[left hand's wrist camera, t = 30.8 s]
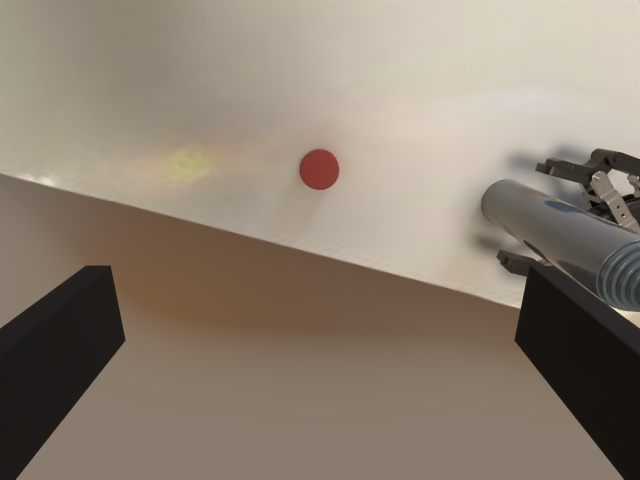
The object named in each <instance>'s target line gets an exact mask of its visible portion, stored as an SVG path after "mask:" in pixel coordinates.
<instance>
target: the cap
mask: <svg viewBox="0 0 640 480" xmlns="http://www.w3.org/2000/svg"><path fill="white" fill-rule="evenodd" d="M300 171H301V177H302V179H303V181H304V182H305V183H306V184H307V185H308V186H309V187H311V188H313V189H317V190H322V189H326V188H329V187H330V186H332V185H333V184H334V183H335V181H336V180H337V178H338V175H339V166H338V162H337V160H336V158H335V157H334V155H333V154H332V153H330V152H329V151H326V150H323V149H317V150H313V151H311V152H309V153H308V154H307V155H306V156H305V157H304V159H303V161H302V164H301V169H300Z"/></svg>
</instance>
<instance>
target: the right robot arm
mask: <svg viewBox="0 0 640 480" xmlns="http://www.w3.org/2000/svg"><path fill="white" fill-rule="evenodd" d="M611 169H615V170H618V171H621V172H624V173H626V174H629V175H628V177H627V179H628V180H629V183H630V184H631V185H632V186H634V189H635V191H634V194H628V195H625V196H621V195H620V193H619V192H617V191H616V190H615V189H614V188H613V186H612V184H611V182H610V180H609V179H608V177H607V173H608V172H609V171H610V170H611ZM535 170H536V171H539V172H542V173H545V174H548V175H552V176H555V177H559V178H563V179H566V180H570V181H574V182H577V183H579V185H580V187H581V188H582V190H583V192H582V195H583V197H584V198H585V200H586V202H587V203H588V205H589V207H590V209H589V210H588V212H590V213H593V214H595V215H597V216H600V217H602V218H604V219H607V220H609V221H612V222H614V223H616V224H619V225H621V226H623V227H626V228H628V229H630V230H633V231H635V232H638V233H640V159H638V158H635V157H632V156H629V155H627V154H624V153H621V152H616V151H611V150H605V149H596V150H594V151H593V152H592V154H591V159H590V160H589V161H588V162H587V163H586V164H584V165H577V164H574V163H570V162H566V161H563V160H559V159H555V158H551V159H547V161H546V163H545V164H541V163H538V164H537V167H536V169H535ZM496 257H497V258H498V259H499V260H500V261H501V263H500V264H501V265H502V266H503V267H504V268H506V269H507V270H508V271H509V272H511V273H514V274H518V275H522V276H526V277H527V275H528V270H529V266H553V265H551V264H550V263H549V262H547V261H546V260H544V259H542V260H539V261H536V260H535V259H533V258H530V257H526V256H522V255H518V254H514V253H510V252H506V251H502V250H499V252H498V254H497V256H496Z"/></svg>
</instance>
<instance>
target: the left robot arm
mask: <svg viewBox="0 0 640 480" xmlns="http://www.w3.org/2000/svg"><path fill="white" fill-rule="evenodd" d="M124 342H125V336H124V331H123V326H122V321H121V315H120V310H119V305H118V300H117V296H116V291H115V285H114V280H113V275H112V271H111V266H85V267H84V268H82V269H81V270H80V271H78V272H77V273H75V274H74V275H73V276H71V277H70V278H69V279H67V280H66V281H64V282H63V283H62V284H60V285H59V286H58V287H56V288H55V289H54V290H52V291H51V292H49V293H48V294H47V295H45V296H44V297H43V298H41V299H40V300H39V301H37V302H36V303H35V304H33V305H32V306H30V307H29V308H28V309H26V310H25V311H24V312H22V313H21V314H19V315H18V316H17V317H15V318H14V319H13V320H11V321H10V322H9V323H7V324H6V325H4V326H3V327H2V328H0V480H16V479H17V477H18V476H19V475H20V473H21V472H22V471H23V470H24V468H25V467H26V466H27V465H28V463H29V462H30V461H31V460H32V458H33V457H34V456H35V454H36V453H37V452H38V451H39V449H40V448H41V447H42V446H43V444H44V443H45V442H46V441H47V439H48V438H49V437H50V435H51V434H52V433H53V432H54V430H55V429H56V428H57V427H58V425H59V424H60V423H61V421H62V420H63V419H64V418H65V416H66V415H67V414H68V413H69V411H70V410H71V409H72V408H73V406H74V405H75V404H76V402H77V401H78V400H79V399H80V397H81V396H82V395H83V394H84V392H85V391H86V390H87V389H88V387H89V386H90V385H91V384H92V382H93V381H94V380H95V378H96V377H97V376H98V375H99V373H100V372H101V371H102V370H103V368H104V367H105V366H106V365H107V363H108V362H109V361H110V359H111V358H112V357H113V356H114V354H115V353H116V352H117V351H118V349H119V348H120V347H121V345H122V344H123V343H124ZM515 342H516V343H517V344H518V346H519V347H520V348H521V349H522V351H523V352H524V353H525V354H526V356H527V357H528V358H529V359H530V361H531V362H532V363H533V364H534V366H535V367H536V368H537V370H538V371H539V372H540V373H541V375H542V376H543V377H544V378H545V380H546V381H547V382H548V384H549V385H550V386H551V387H552V389H553V390H554V391H555V392H556V394H557V395H558V396H559V397H560V399H561V400H562V401H563V403H564V404H565V405H566V406H567V408H568V409H569V410H570V411H571V413H572V414H573V415H574V416H575V418H576V419H577V420H578V422H579V423H580V424H581V425H582V427H583V428H584V429H585V430H586V432H587V433H588V434H589V435H590V437H591V438H592V439H593V441H594V442H595V443H596V444H597V446H598V447H599V448H600V449H601V451H602V452H603V453H604V454H605V456H606V457H607V458H608V460H609V461H610V462H611V463H612V465H613V466H614V467H615V468H616V470H617V471H618V472H619V473H620V475H621V476H622V477H623V479H624V480H640V328H638V327H637V326H636V325H634V324H633V323H631V322H630V321H629V320H627V319H626V318H625V317H623V316H622V315H621V314H619V313H618V312H616V311H615V310H614V309H612V308H611V307H610V306H608V305H607V304H606V303H604V302H603V301H601V300H600V299H599V298H597V297H596V296H595V295H593V294H592V293H591V292H589V291H588V290H586V289H585V288H584V287H582V286H581V285H580V284H578V283H577V282H576V281H574V280H573V279H571V278H570V277H569V276H567V275H566V274H565V273H563V272H562V271H561V270H559V269H558V268H556V267H555V266H529V270H528V275H527V280H526V285H525V290H524V295H523V300H522V305H521V310H520V316H519V321H518V326H517V331H516V336H515Z"/></svg>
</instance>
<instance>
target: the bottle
mask: <svg viewBox="0 0 640 480" xmlns="http://www.w3.org/2000/svg"><path fill="white" fill-rule="evenodd" d="M482 210H483V213H484V215H485V216H486V217H487V218H488V219H489V220H490V221H492V222H493V223H494V224H496V225H497V226H499V227H500V228H501V229H503V230H504V231H506V232H507V233H508V234H510V235H511V236H512V237H514V238H515V239H517V240H518V241H519V242H521V243H522V244H524V245H525V246H526V247H528V248H529V249H531V250H532V251H533V252H535V253H536V254H538V255H539V256H540V257H542V258H543V259H544V260H546V261H547V262H549V263H550V264H551V265H553V266H555V267H556V268H558V269H559V270H561V271H562V272H563V273H565V274H566V275H567V276H569V277H570V278H571V279H573V280H574V281H576V282H577V283H578V284H580V285H581V286H582V287H584V288H585V289H586V290H588V291H589V292H591V293H592V294H593V295H595V296H596V297H597V298H599V299H600V300H602V301H603V302H604V303H606V304H607V305H609V306H611V307H614V308H617V309H620V310H623V311H633V312H640V233H638V232H635V231H633V230H630V229H628V228H626V227H623V226H621V225H619V224H616V223H614V222H612V221H609V220H607V219H604V218H602V217H600V216H597V215H595V214H593V213H590V212H588V211H585V210H583V209H581V208H578V207H576V206H574V205H571V204H569V203H567V202H564V201H562V200H559V199H557V198H555V197H552V196H550V195H548V194H545V193H543V192H541V191H538V190H536V189H533V188H531V187H529V186H526V185H524V184H522V183H519V182H517V181H514V180H502V181H499V182H497V183H495V184H493V185H492V186H491V187H490V188H489V189H488V190H487V191H486V193H485V194H484V197H483V200H482Z"/></svg>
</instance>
